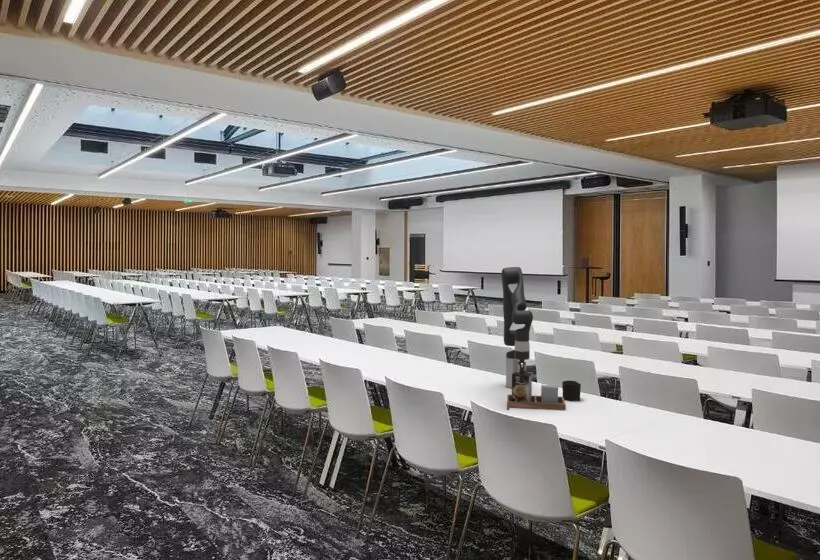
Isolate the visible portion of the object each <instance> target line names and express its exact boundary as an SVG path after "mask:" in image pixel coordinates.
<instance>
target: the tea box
mask: <svg viewBox="0 0 820 560" xmlns="http://www.w3.org/2000/svg"><path fill="white" fill-rule="evenodd" d="M540 388H541V389H540V394H541V395H540V396H541V403H557V404H558V397H559V386H558V385H554V384H553V385H552V384H541V387H540Z"/></svg>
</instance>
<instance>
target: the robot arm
mask: <svg viewBox="0 0 820 560" xmlns="http://www.w3.org/2000/svg"><path fill="white" fill-rule="evenodd" d="M523 276H524V275H523V271H522V268H521V267H520V266H512V267H511V266H510V267H509V266H508V267H504V268H502V270H501V284H502V286H501V287H502V299H503V300H502V301H503V303H502V304H503V305H502V312H503V343H504V345H505V346H507V347H514V349H512V350H509V351H507V352H506V355H505V387H506V388H508V389H512V373H514V372H520V373H519V375H520V383H524V375H525V373H526V367H527V362H526V360H527V361H528V360H530V358H531V357H530V355H531V354H530V350H531V349H530V348H531V347H530V333H531V332H530V329H531V326H532V323H533V319H534V315H533V312H532V311H531V310H527V300H526V297H525V285H524V277H523ZM516 284H517V285H516ZM509 285H516V288H514V291H513V292H512V290H511V288H510V286H509ZM513 324H514V325H524V326H523V327H520V328H517V329H511V327H512V325H513ZM521 372H522V373H521Z"/></svg>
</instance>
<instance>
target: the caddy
mask: <svg viewBox="0 0 820 560" xmlns="http://www.w3.org/2000/svg"><path fill="white" fill-rule="evenodd" d="M506 398H507V399H506V410H508V411H509V410H510V409H525V410H527V409H528V410H550V411H552V410H553V411H566V408H567V407H566V402H565V400H564V398H563V396H558V404H557V403H541V395H532V398H531V402H512V394H507V397H506Z"/></svg>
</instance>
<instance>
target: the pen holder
mask: <svg viewBox="0 0 820 560" xmlns="http://www.w3.org/2000/svg"><path fill="white" fill-rule="evenodd" d="M561 385H562V397H563V398H564V401H566V402H579V401H581V388H582V384H581V383H579V382H578V381H576V380H564V381H561Z"/></svg>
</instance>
